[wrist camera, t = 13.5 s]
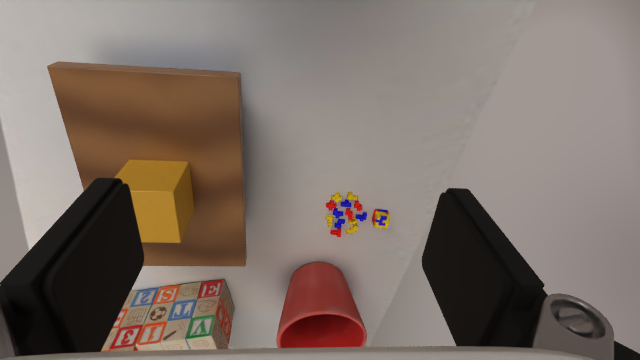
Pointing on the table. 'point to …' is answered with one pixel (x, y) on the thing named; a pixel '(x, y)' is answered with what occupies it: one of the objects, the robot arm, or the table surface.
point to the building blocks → (378, 219)
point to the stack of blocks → (174, 319)
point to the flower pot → (319, 311)
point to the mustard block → (160, 198)
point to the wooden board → (164, 144)
